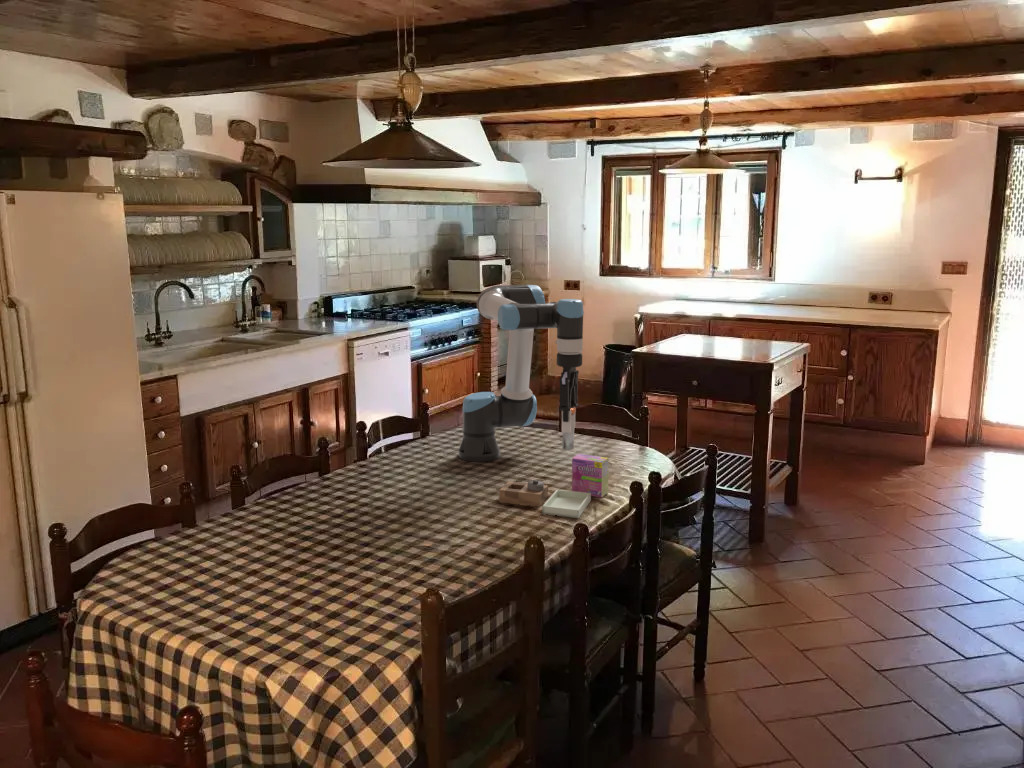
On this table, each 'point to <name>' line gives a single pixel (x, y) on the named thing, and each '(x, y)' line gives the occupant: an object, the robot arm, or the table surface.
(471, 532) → the table surface
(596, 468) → the box
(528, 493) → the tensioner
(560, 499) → the tray
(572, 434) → the pin
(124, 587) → the table surface
